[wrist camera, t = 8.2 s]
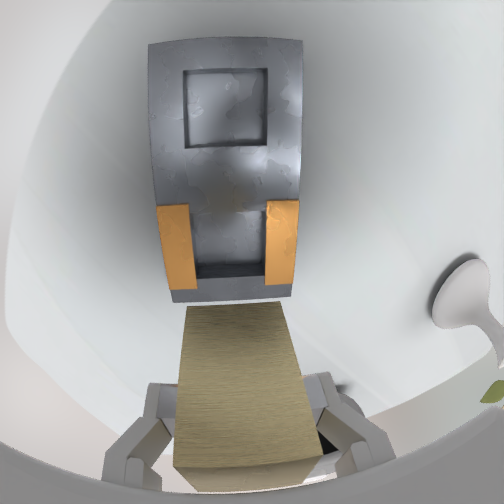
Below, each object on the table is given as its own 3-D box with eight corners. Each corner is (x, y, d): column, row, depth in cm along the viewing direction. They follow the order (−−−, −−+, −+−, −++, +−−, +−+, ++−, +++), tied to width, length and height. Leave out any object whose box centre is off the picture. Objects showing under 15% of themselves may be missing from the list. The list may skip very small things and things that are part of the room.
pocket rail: (158, 53, 15) (147, 44, 13) (291, 49, 16) (303, 39, 13) (177, 282, 25) (172, 304, 22) (284, 277, 26) (291, 297, 23)
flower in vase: (480, 237, 27) (600, 357, 5) (480, 291, 32) (565, 397, 10) (411, 291, 29) (521, 457, 7) (420, 337, 34) (495, 467, 12)
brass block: (187, 306, 11) (172, 465, 5) (280, 301, 12) (323, 454, 6) (198, 364, 13) (197, 491, 7) (275, 359, 14) (301, 483, 7)
